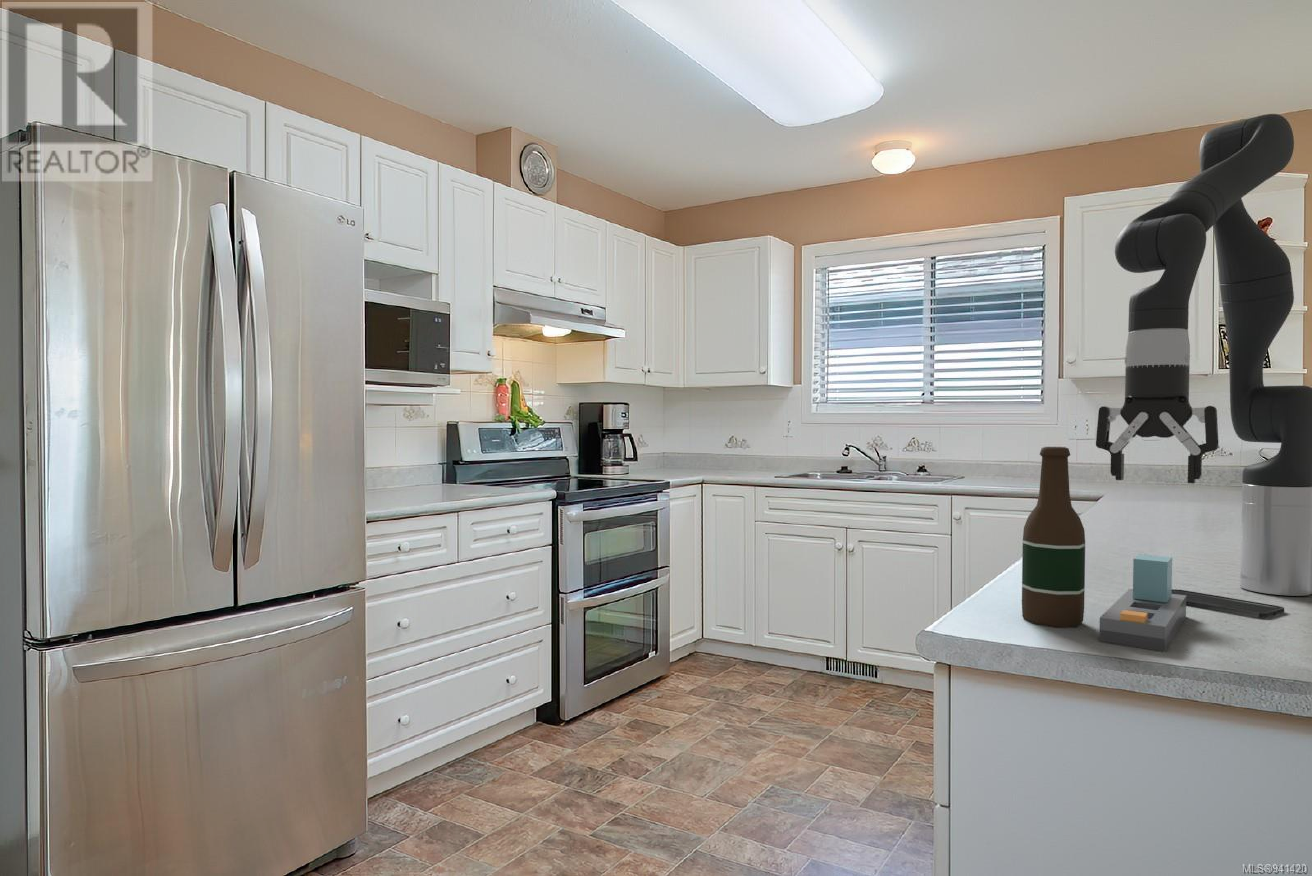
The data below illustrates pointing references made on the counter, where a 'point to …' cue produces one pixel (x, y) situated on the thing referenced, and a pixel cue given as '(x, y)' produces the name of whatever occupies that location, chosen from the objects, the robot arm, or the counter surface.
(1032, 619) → the beer bottle
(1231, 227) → the robot arm
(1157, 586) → the block
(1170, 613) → the power strip
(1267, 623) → the counter surface
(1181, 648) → the counter surface
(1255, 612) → the phone
